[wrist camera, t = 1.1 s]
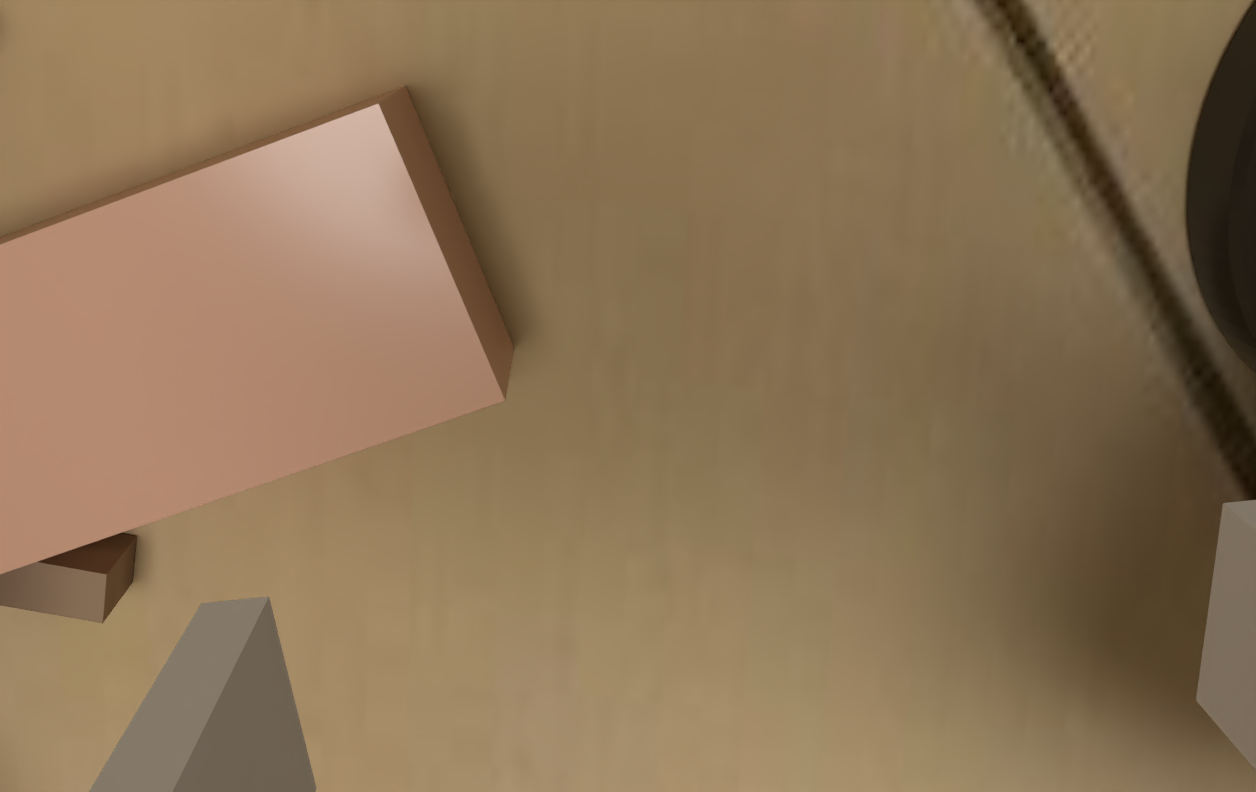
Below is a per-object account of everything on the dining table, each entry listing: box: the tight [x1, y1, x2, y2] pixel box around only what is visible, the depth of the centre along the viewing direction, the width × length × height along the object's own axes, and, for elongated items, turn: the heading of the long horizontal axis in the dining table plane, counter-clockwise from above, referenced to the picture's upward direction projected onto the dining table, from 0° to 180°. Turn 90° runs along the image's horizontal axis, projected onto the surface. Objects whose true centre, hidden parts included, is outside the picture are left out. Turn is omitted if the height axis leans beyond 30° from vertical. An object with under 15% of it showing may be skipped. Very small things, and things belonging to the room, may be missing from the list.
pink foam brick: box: [0, 86, 514, 574], centre depth 26 cm, size 14×7×4 cm, turn 109°
